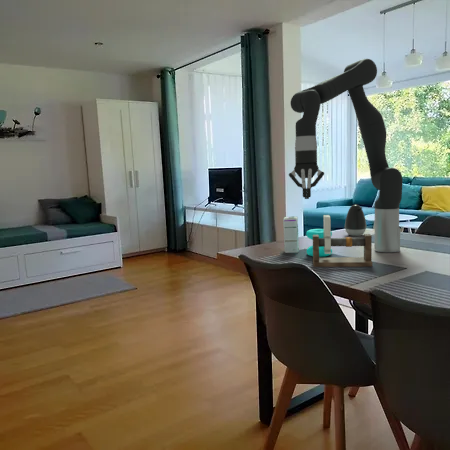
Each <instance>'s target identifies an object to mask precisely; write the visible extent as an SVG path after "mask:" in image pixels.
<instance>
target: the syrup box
mask: <svg viewBox="0 0 450 450" xmlns="http://www.w3.org/2000/svg"><path fill="white" fill-rule="evenodd" d="M282 220H283V221H282V222H283V223H282V224H283V247H284V249H283V251H284V253H287V254H298V253H299V250H300V248H299V247H300V245H299V244H300V243H299V222H298V221H299V217H298V216H284V217H283V219H282Z"/></svg>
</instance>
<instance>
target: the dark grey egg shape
mask: <svg viewBox="0 0 450 450" xmlns="http://www.w3.org/2000/svg"><path fill="white" fill-rule="evenodd" d="M344 229H345V232H346V233H347V235H349V236H350V237H360V236H362V235H363V236H364V234H365V233H366V229H367V220H366V217H365V213H364V211H363V207H362V206H360V205H359V204H353V205H350V207H349V209H348V211H347V213H346V218H345V223H344Z"/></svg>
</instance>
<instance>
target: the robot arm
mask: <svg viewBox="0 0 450 450" xmlns="http://www.w3.org/2000/svg"><path fill="white" fill-rule="evenodd" d="M377 73H378V67H377V65H376V63H375V62H374V61H373V59H370V58H362V59H359V60H356V61H354V62H352V63H351V64H349V65H347V66H345V68H344V70H343V72H341V73H340V74H337V75H335V76H332V77H330V78H327V79H325V80H323V81H321V82H319V83H316V84H315V85H314V86H312V87H309V88H306V89H303V90H299V91H297V92H296V93H294V94H293V96H291V99H290V107H291V109H292V111H294V112H295V113H298V114H300V113H301V114H302V117H301V118H300V119H298V120H297V121H296V122H295V139H294V140H295V142H294V156H295V157H294V158H295V159H294V160H295V164H294V166H293V167H294V168H293V170H292V171H291V172H289V173H288V176H289V177H290V179H291V180H292V182H293V183H294V184H295V185H296V186H297V187H299V188H301V189H302V198H304V200H309V199H310V198H311V196H312V188H313V187H316V186H317V184H319V182H320V180H322V178H323V176H324V175H325V172H324V171H322V170H320V169H319V165H318V140H317V121H318V117H319V113H320V109H321V104H322V105H323V104H325V103H327V102H329V101H331V100H333V99H334V98H336V97H338V96H340V95H342V94H343V93H345V92H348V94H349V97H350V100H351V103H352V106H353V108H354V112H355V116H356V120H357V124H358V128H359V132H360V135H361V138H362V139H361V140H362V142H363V146H364V151H365V153H366V157H367V161H368V167H369V173H370V179H371V183H372V185H373V187H374V188H375V189H376V190H378V191H379V194H378V198H377V199H376V200H375V201H374V251H375V252H379V253H397V252H401V227H400V203H401V201H402V197H403V175H402V173H401V171H400V170H399V169H398V168H395V167H389V163H388V161H387V158H386V157H387V155H386V145H387V128H386V125H385V121H384V118H383V117H384V116H383V115H382V113H381V112H380V111H379V110H378V109H377V108H376V106H374V104H373V103H372V102H370V100H369V99H368V98H367V95H366V92H365V90H364V89H365V88H364V86H366V85H368V84H370V83H372V82H374V81H375V78H377ZM296 175H297V176H298V177H299V178H300V179H301V182H299V180H298V179H297V178H296V177H297V176H296ZM315 175H316V176H317V177H316V178H315V179H314V181H313V182H312V179H313V178H314V177H315ZM306 179H307V183H306Z"/></svg>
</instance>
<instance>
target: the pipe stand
mask: <svg viewBox="0 0 450 450" xmlns="http://www.w3.org/2000/svg"><path fill="white" fill-rule="evenodd" d="M372 239H373V237H372V234H370V233H364V234H363V237H353V236H347V237H346V236H345V237H331V247H345V248H348V247H349V248H350V247H351V248H352V247H363V256H362V257H359V256H358V257H356V256H355V257H354V256H353V257H349V256H347V257H345V256H344V257H319V247H325V238H319V235H313V240H312V246H313V256H312V265H313V267H314V268H317V267H318V268H319V267H321V268H322V267H323V268H324V267H325V268H326V267H327V268H328V267H331V268H333V267H335V268H337V267H338V268H339V267H340V268H341V267H345V268H346V267H351V268H352V267H356V268H357V267H360V268H361V267H363V268H364V267H373V263H374V262H373V261H372V259H373V258H372V255H373V254H372V246H373V245H372V243H373V242H372Z"/></svg>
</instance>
